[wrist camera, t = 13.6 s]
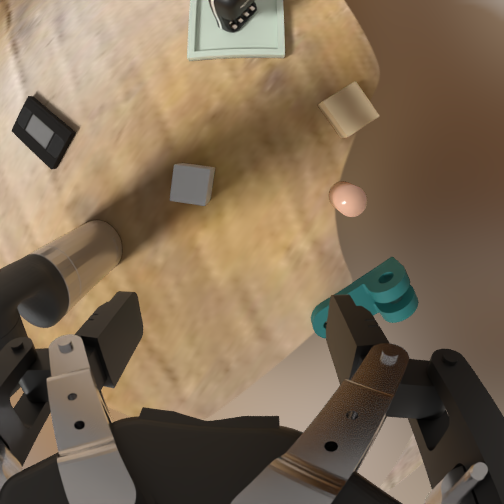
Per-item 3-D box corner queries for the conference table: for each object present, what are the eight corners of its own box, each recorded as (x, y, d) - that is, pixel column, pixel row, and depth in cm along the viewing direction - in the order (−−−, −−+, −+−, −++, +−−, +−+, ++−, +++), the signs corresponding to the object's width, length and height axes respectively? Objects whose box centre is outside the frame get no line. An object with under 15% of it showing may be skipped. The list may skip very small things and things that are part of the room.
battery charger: (236, 39, 36) (230, 7, 25) (216, 28, 35) (203, -6, 24) (264, 9, 34) (266, -28, 23) (244, -2, 33) (240, -40, 22)
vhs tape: (58, 168, 43) (51, 169, 42) (17, 130, 41) (11, 130, 39) (77, 132, 42) (71, 132, 40) (34, 96, 39) (28, 95, 37)
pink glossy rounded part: (328, 209, 45) (336, 216, 40) (329, 180, 43) (337, 184, 39) (355, 210, 45) (365, 217, 40) (356, 182, 43) (368, 186, 39)
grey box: (178, 195, 45) (169, 200, 40) (183, 162, 43) (174, 164, 38) (210, 200, 45) (205, 206, 40) (215, 167, 43) (210, 169, 38)
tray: (189, 61, 38) (187, 58, 36) (193, -10, 33) (191, -15, 32) (283, 58, 37) (284, 55, 36) (281, -14, 33) (282, -18, 31)
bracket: (392, 256, 47) (412, 274, 40) (405, 285, 49) (424, 305, 42) (303, 312, 51) (310, 338, 43) (322, 337, 53) (330, 364, 45)
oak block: (340, 138, 41) (347, 137, 38) (316, 105, 40) (322, 101, 36) (369, 118, 40) (379, 116, 36) (347, 86, 39) (355, 81, 35)
